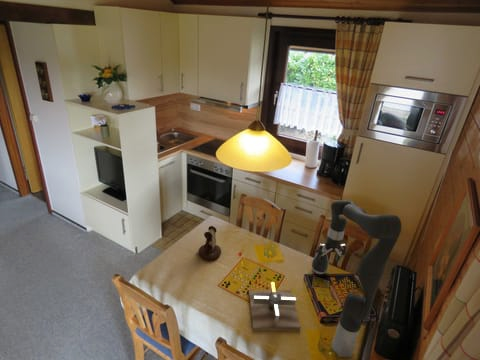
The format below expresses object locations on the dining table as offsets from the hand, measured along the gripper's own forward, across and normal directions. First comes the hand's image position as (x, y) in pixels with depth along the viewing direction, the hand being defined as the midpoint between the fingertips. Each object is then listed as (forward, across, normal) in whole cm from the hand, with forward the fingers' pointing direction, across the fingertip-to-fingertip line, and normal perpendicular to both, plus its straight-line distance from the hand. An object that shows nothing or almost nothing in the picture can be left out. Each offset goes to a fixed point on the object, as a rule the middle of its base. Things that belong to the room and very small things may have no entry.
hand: (329, 260), depth 161 cm
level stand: (+28, +28, +8) cm, 40 cm away
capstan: (+26, +28, +8) cm, 39 cm away
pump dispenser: (+28, -6, -22) cm, 36 cm away
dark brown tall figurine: (+28, +63, -37) cm, 78 cm away
